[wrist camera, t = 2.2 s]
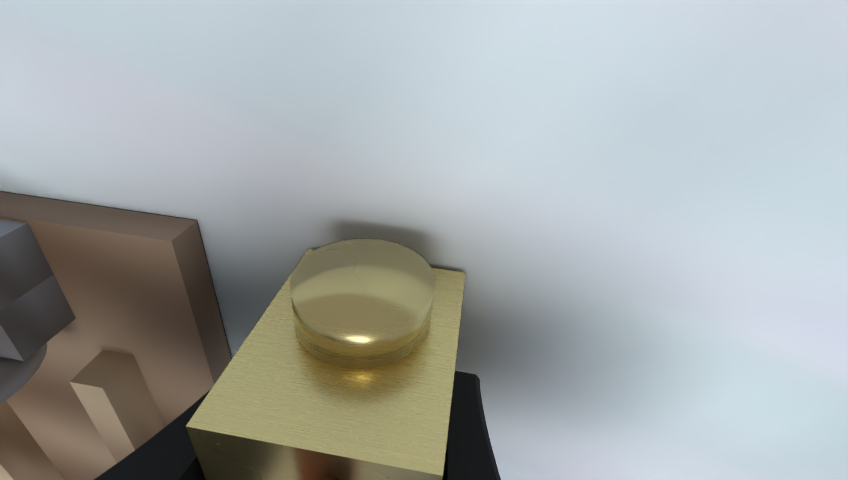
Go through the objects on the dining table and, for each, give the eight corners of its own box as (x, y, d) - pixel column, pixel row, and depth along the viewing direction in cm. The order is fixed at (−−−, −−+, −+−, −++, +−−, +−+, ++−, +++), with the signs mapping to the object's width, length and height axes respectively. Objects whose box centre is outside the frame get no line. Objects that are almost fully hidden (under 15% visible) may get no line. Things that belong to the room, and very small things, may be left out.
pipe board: (271, 518, 20) (208, 670, 15) (35, 469, 21) (-86, 600, 16) (196, 220, 11) (2, 380, 7) (-206, 161, 12) (-598, 267, 8)
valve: (440, 430, 14) (408, 676, 9) (322, 408, 14) (230, 635, 9) (471, 238, 10) (443, 498, 5) (305, 214, 10) (127, 436, 5)
